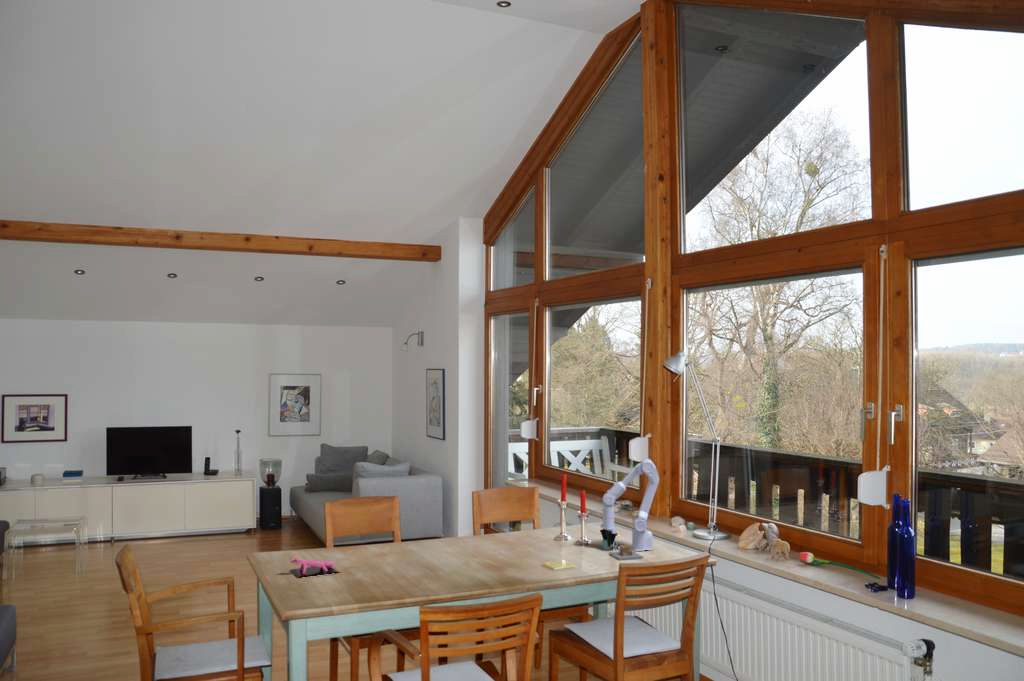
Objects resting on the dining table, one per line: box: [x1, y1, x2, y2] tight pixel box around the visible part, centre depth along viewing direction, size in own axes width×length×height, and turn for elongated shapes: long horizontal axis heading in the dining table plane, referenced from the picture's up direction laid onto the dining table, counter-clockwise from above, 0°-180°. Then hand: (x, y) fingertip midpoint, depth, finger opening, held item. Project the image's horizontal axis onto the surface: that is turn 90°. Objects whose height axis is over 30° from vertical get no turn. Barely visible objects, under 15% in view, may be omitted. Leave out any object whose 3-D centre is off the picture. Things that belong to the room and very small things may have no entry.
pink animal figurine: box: [289, 557, 341, 579], centre depth 357 cm, size 15×20×7 cm
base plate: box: [608, 550, 644, 561], centre depth 389 cm, size 12×12×1 cm
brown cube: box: [618, 544, 633, 556], centre depth 389 cm, size 4×4×4 cm
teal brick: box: [601, 539, 616, 550], centre depth 406 cm, size 4×4×4 cm
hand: (608, 545), depth 406 cm, fingers closed on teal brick, 4 cm apart
